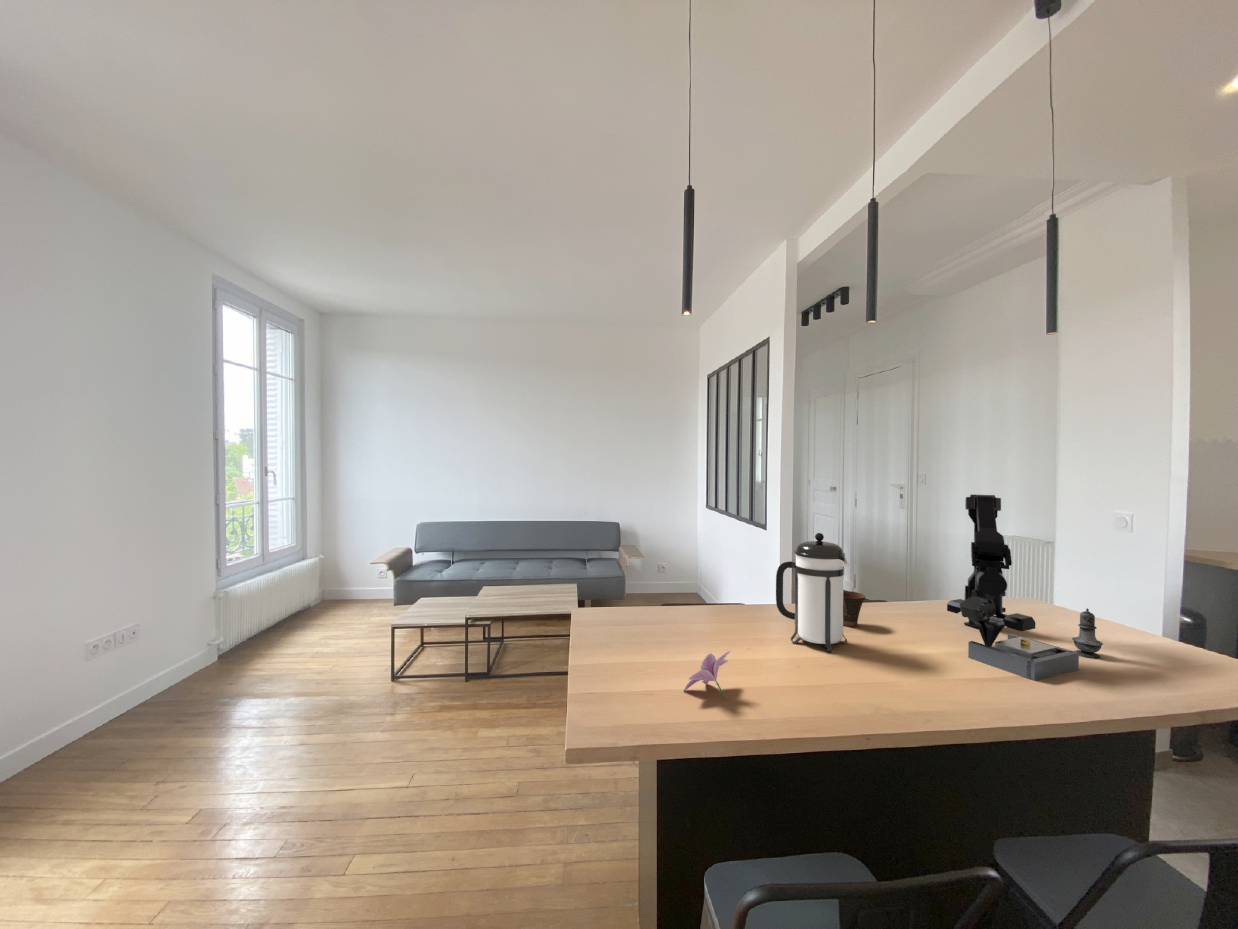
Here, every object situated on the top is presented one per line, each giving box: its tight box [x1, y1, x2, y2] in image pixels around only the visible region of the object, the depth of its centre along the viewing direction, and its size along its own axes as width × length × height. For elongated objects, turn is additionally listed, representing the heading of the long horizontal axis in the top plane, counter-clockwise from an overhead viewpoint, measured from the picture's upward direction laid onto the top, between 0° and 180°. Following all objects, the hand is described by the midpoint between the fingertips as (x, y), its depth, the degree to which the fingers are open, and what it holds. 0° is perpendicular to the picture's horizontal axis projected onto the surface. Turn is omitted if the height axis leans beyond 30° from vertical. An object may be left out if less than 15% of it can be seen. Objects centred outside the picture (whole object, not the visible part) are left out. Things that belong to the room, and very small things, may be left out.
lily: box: [683, 650, 731, 701], centre depth 108 cm, size 12×12×10 cm
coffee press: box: [775, 532, 850, 653], centre depth 139 cm, size 17×16×30 cm
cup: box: [843, 590, 866, 628], centre depth 154 cm, size 9×9×10 cm
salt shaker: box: [1071, 608, 1104, 660], centre depth 131 cm, size 6×6×12 cm
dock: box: [967, 633, 1080, 682], centre depth 125 cm, size 17×15×4 cm
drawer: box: [994, 636, 1058, 660], centre depth 124 cm, size 10×9×6 cm
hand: (988, 647), depth 132 cm, fingers closed
